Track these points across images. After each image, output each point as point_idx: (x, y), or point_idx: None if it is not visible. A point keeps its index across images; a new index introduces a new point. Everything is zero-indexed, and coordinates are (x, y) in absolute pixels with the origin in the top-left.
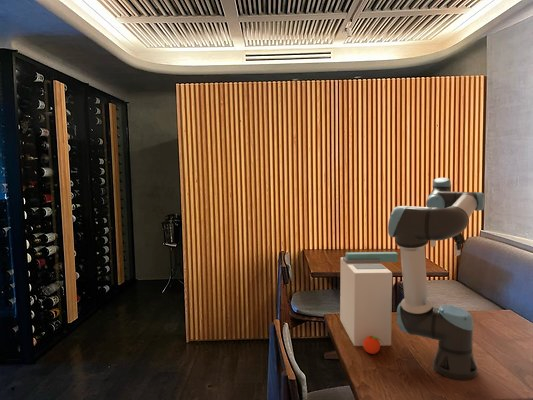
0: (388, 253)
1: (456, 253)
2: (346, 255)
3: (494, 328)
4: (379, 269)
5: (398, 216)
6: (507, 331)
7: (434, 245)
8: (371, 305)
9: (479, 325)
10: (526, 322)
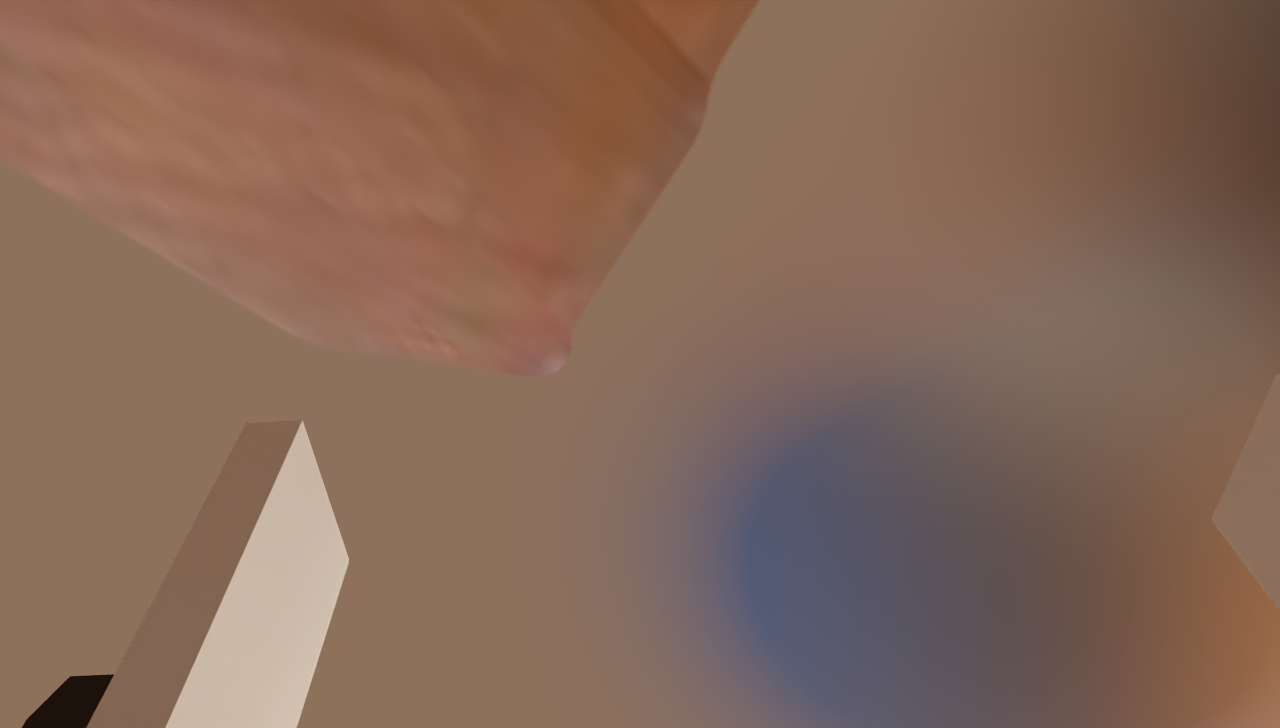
0: None
1: (204, 512)
2: None
3: (258, 78)
4: None
5: None
6: (170, 121)
7: (1252, 479)
8: None
9: (357, 15)
10: (319, 341)
